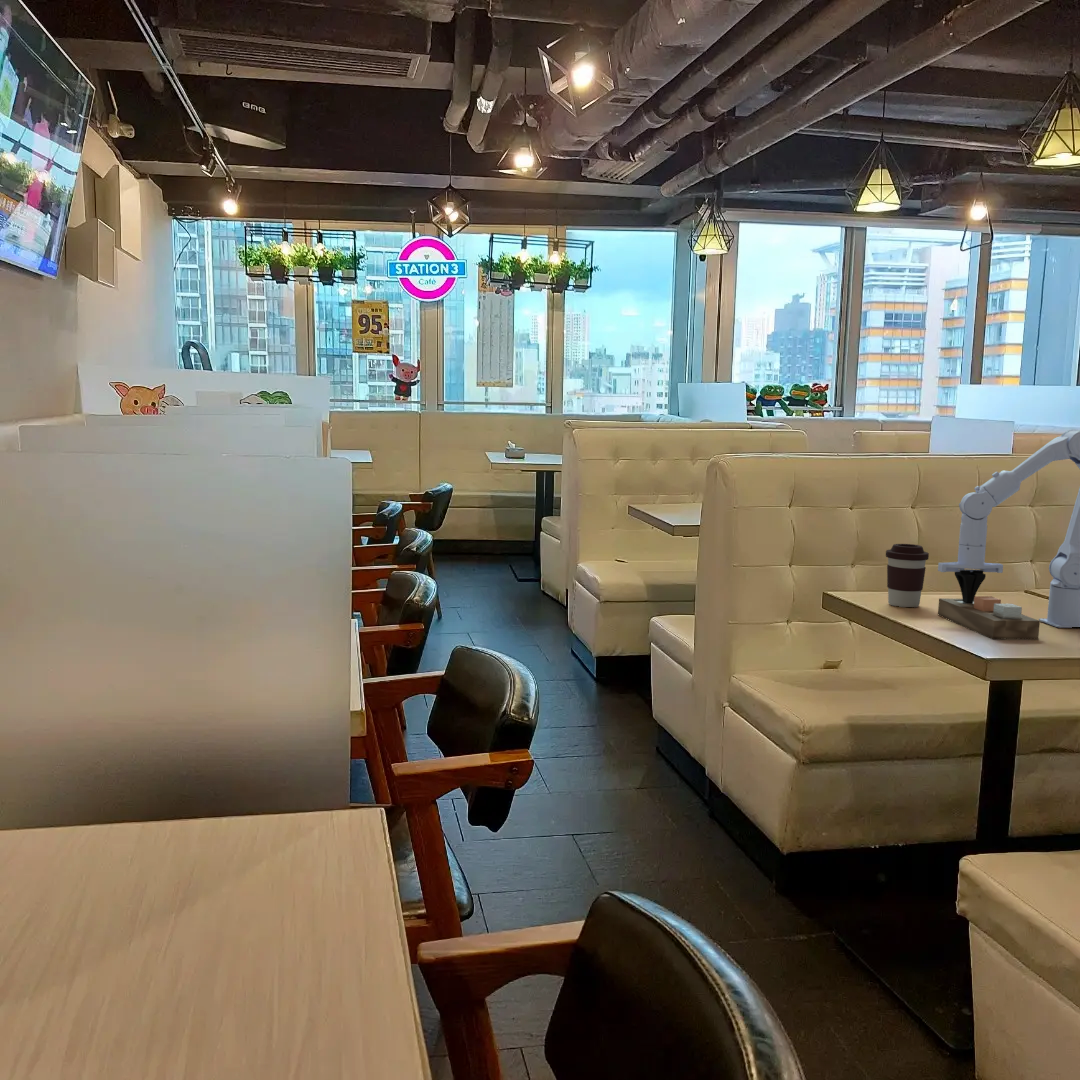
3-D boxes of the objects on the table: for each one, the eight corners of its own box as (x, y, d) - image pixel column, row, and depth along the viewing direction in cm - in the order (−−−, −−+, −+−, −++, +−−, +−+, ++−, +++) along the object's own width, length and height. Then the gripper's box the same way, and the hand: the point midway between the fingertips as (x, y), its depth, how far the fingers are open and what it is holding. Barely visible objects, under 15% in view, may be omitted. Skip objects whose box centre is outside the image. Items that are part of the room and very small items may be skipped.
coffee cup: (898, 609, 241) (902, 548, 240) (874, 602, 251) (878, 542, 249) (933, 608, 244) (938, 547, 242) (908, 601, 254) (912, 542, 252)
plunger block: (978, 615, 237) (980, 598, 236) (1038, 639, 212) (1039, 620, 211) (937, 615, 236) (939, 598, 235) (992, 639, 211) (994, 620, 211)
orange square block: (990, 609, 226) (991, 596, 225) (999, 613, 222) (1000, 599, 221) (973, 609, 225) (974, 596, 225) (982, 613, 221) (983, 599, 221)
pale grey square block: (1010, 617, 217) (1011, 603, 217) (1020, 621, 213) (1021, 607, 213) (993, 617, 217) (994, 603, 216) (1002, 621, 213) (1003, 607, 212)
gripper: (993, 542, 235) (989, 599, 236) (933, 542, 233) (929, 599, 235) (1009, 546, 228) (1004, 605, 229) (948, 546, 226) (943, 605, 228)
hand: (967, 602), depth 232 cm, fingers closed, pressing on steel plunger 1
